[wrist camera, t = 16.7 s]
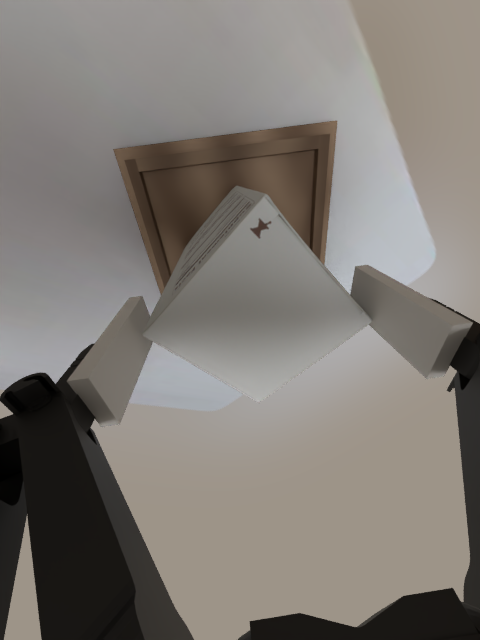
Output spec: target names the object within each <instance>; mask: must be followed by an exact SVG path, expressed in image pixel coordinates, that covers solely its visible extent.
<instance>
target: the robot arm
mask: <svg viewBox="0 0 480 640" xmlns="http://www.w3.org/2000/svg"><path fill="white" fill-rule="evenodd" d="M350 296H351V297H352V298H353V299H354V300H355V301H356V302H357V303H358V305H359V306H360V307H361V308H362V309H363V310H364V311H365V312H366V313H367V314H368V315H369V316H370V317H371V318H372V322H371V323H370V324H369V325H370V326H371V327H372V328H373V329H374V330H375V331H376V332H377V333H378V334H379V335H380V336H381V337H382V338H384V339H385V340H386V341H387V342H388V343H389V344H390V345H391V346H392V347H393V348H394V349H395V350H396V351H397V352H398V353H400V354H401V355H402V356H403V357H404V358H405V359H406V360H407V361H408V362H409V363H410V364H411V365H412V366H413V367H414V368H416V369H417V370H418V371H419V372H420V373H421V374H422V375H423V376H424V377H425V378H426V379H428V378H435V377H442V376H444V375H445V374H446V372H447V370H448V368H449V366H452V367H453V368H454V369H455V370H457V373H456V375H455V376H454V378H453V380H452V382H451V383H450V385H449V387H448V389H447V391H449V392H450V391H451V390H452V388H455V394H456V406H457V416H458V427H459V438H460V449H461V459H462V470H463V482H464V491H465V503H466V514H467V525H468V535H469V547H470V565H469V569H468V571H467V575H466V577H465V583H464V602H461V601H460V600H459V598H458V596H457V595H456V593H455V591H454V589H453V588H450V589H444V590H437V591H431V592H425V593H419V594H413V595H407V596H403V597H401V598H400V599H398V600H396V601H395V602H393V603H392V604H390V605H388V606H387V607H385V608H383V609H382V610H380V611H379V612H377V613H376V614H374V615H373V616H371V617H370V618H369V619H367V620H366V621H365V622H363V623H362V624H360V625H359V626H358V627H352V626H348V625H344V624H340V623H336V622H332V621H328V620H325V619H321V618H316V617H313V616H309V615H305V614H301V613H298V614H292V615H286V616H280V617H274V618H268V619H261V620H255V621H250V631H248V632H247V633H246V634H244V635H242V636H241V637H240V638H239V639H238V640H480V324H479V323H477V322H475V321H474V320H472V319H470V318H468V317H466V316H464V315H462V314H461V313H459V312H457V311H454V310H453V309H451V308H449V307H446V305H444V304H442V303H440V302H438V301H436V300H433V299H430V298H427V297H425V296H423V295H422V294H420V293H418V292H416V291H414V290H413V289H411V288H409V287H407V286H405V285H403V284H402V283H400V282H398V281H396V280H394V279H393V278H391V277H389V276H387V275H385V274H383V273H382V272H380V271H378V270H376V269H374V268H372V267H371V266H369V265H363V266H355V271H354V277H353V283H352V289H351V294H350ZM149 319H150V315H149V312H148V310H147V307H146V305H145V302H144V299H143V297H142V296H138V297H131V298H129V299H128V300H127V302H126V303H125V304H124V306H123V307H122V308H121V310H120V311H119V312H118V314H117V315H116V316H115V318H114V319H113V320H112V322H111V323H110V324H109V326H108V327H107V328H106V330H105V331H104V332H103V334H102V335H101V336H100V338H99V339H98V340H97V342H96V343H95V344H91V345H90V346H88V347H87V348H86V349H84V350H83V351H82V352H81V353H80V354H79V356H78V357H77V358H76V361H74V362H73V363H72V364H71V366H70V367H69V368H68V369H67V371H66V372H65V373H64V374H63V376H62V377H61V378H60V379H59V381H58V382H57V383H56V384H55V383H54V382H53V381H52V379H51V378H50V377H49V376H48V375H47V374H46V373H36V374H32V375H29V376H26V377H24V378H22V379H20V380H18V381H17V382H15V383H13V384H12V385H11V386H9V387H8V388H7V389H6V390H5V391H4V392H3V393H2V394H1V396H0V401H1V402H2V403H3V404H4V405H5V406H6V407H7V408H8V409H9V410H10V411H11V412H13V415H10V416H7V417H4V418H2V419H0V640H4V634H5V629H6V624H7V618H8V613H9V608H10V602H11V597H12V592H13V586H14V581H15V575H16V570H17V564H18V559H19V554H20V548H21V543H22V538H23V532H24V527H25V522H26V516H28V524H29V533H30V542H31V551H32V558H33V568H34V577H35V585H36V594H37V602H38V611H39V620H40V629H41V637H42V640H194V639H193V637H192V635H191V633H190V631H189V630H188V628H187V626H186V624H185V623H184V621H183V620H182V618H181V617H180V615H179V614H178V612H177V610H176V609H175V607H174V605H173V603H172V600H171V599H170V596H169V594H168V592H167V590H166V588H165V585H164V583H163V581H162V579H161V577H160V574H159V572H158V570H157V568H156V566H155V564H154V561H153V560H152V557H151V555H150V553H149V551H148V548H147V546H146V544H145V542H144V540H143V538H142V535H141V533H140V531H139V529H138V527H137V524H136V522H135V520H134V518H133V516H132V514H131V511H130V509H129V507H128V505H127V503H126V501H125V499H124V496H123V494H122V492H121V490H120V487H119V485H118V483H117V481H116V479H115V477H114V474H113V472H112V470H111V468H110V466H109V464H108V461H107V459H106V457H105V455H104V453H103V451H102V448H101V447H100V444H99V442H98V440H97V437H96V435H95V433H94V431H93V430H92V429H91V428H90V427H91V425H92V423H93V421H94V419H96V421H97V422H98V423H99V425H100V426H101V427H105V426H111V425H118V424H120V422H121V420H122V417H123V415H124V412H125V410H126V407H127V405H128V402H129V400H130V397H131V395H132V392H133V390H134V387H135V385H136V382H137V380H138V377H139V375H140V372H141V370H142V367H143V365H144V362H145V360H146V357H147V355H148V352H149V350H150V347H151V345H152V342H153V341H151V340H149V339H147V338H146V337H144V336H143V335H142V333H143V331H144V329H145V327H146V325H147V323H148V321H149ZM27 514H28V515H27Z"/></svg>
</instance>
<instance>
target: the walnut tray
mask: <svg viewBox="0 0 480 640" xmlns="http://www.w3.org/2000/svg"><path fill="white" fill-rule="evenodd" d="M336 130H337V121H330V122H322V123H315V124H307V125H299V126H291V127H284V128H276V129H268V130H260V131H252V132H245V133H237V134H229V135H221V136H213V137H206V138H198V139H190V140H182V141H174V142H167V143H159V144H151V145H143V146H135V147H128V148H120V149H113V150H114V153H115V156H116V159H117V162H118V165H119V168H120V171H121V174H122V177H123V180H124V183H125V186H126V189H127V193H128V196H129V199H130V202H131V205H132V208H133V211H134V214H135V217H136V220H137V223H138V226H139V229H140V232H141V235H142V238H143V241H144V244H145V247H146V250H147V254H148V257H149V260H150V263H151V266H152V269H153V272H154V275H155V278H156V281H157V284H158V287H159V290H160V293H161V295H162V293H163V291H164V289H165V287H166V285H167V283H168V281H169V279H170V277H171V275H172V273H173V271H174V269H175V267H176V265H177V263H178V261H179V259H180V257H181V255H182V253H183V250H184V249H185V247H186V245H187V244H188V243H189V241H190V240H191V239H192V237H193V236H194V235H195V233H196V232H197V231H198V230H199V228H200V227H201V226H202V225H203V223H204V222H205V221H206V220H207V219H208V217H209V216H210V215H211V214H212V212H213V211H214V210H215V209H216V208H217V206H218V205H219V204H220V203H221V202H222V200H223V199H224V198H225V197H226V196H227V195H228V194H229V192H230V191H231V190H232V189H233V188H234V187H235V186H240V187H243V188H247V189H251V190H254V191H258V192H261V193H265V194H267V195H268V196H269V197H270V198H271V200H272V201H273V203H274V204H275V205H276V207H277V208H278V209H279V211H280V212H281V213H282V215H283V216H284V217H285V219H286V220H287V221H288V222H289V224H290V225H291V226H292V227H293V229H294V230H295V231H296V232H297V233H298V235H299V236H300V237H301V238H302V240H303V241H304V242H305V243H306V245H307V246H308V247H309V248H310V249H311V250H312V252H313V253H314V254H315V255H316V256H317V257H318V259H319V260H320V261H321V262H322V263H323V264H324V262H325V251H326V240H327V229H328V218H329V207H330V196H331V185H332V174H333V163H334V152H335V141H336Z"/></svg>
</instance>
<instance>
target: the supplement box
mask: <svg viewBox="0 0 480 640" xmlns="http://www.w3.org/2000/svg"><path fill="white" fill-rule="evenodd" d="M371 322H372V318H371V317H370V316H369V315H368V314H367V313H366V312H365V311H364V310H363V309H362V308H361V307H360V306H359V305H358V303H357V302H356V301H355V300H354V299H353V298H352V297H351V296H350V294H349V293H348V292H347V291H346V290H345V289H344V288H343V286H342V285H341V284H340V283H339V282H338V281H337V280H336V278H335V277H334V276H333V275H332V274H331V273H330V271H329V270H328V269H327V268H326V267H325V266H324V264H323V263H322V262H321V261H320V260H319V259H318V257H317V256H316V255H315V254H314V253H313V252H312V250H311V249H310V248H309V247H308V246H307V245H306V243H305V242H304V241H303V240H302V238H301V237H300V236H299V235H298V233H297V232H296V231H295V230H294V229H293V227H292V226H291V225H290V224H289V222H288V221H287V220H286V219H285V217H284V216H283V215H282V213H281V212H280V211H279V209H278V208H277V207H276V205H275V204H274V203H273V201H272V200H271V198H270V197H269V196H268V195H267V194H265V193H261V192H258V191H254V190H251V189H247V188H243V187H240V186H235V187H234V188H233V189H232V190H231V191H230V192H229V194H228V195H227V196H226V197H225V198H224V199H223V200H222V202H221V203H220V204H219V205H218V206H217V208H216V209H215V210H214V211H213V212H212V214H211V215H210V216H209V217H208V219H207V220H206V221H205V222H204V223H203V225H202V226H201V227H200V228H199V230H198V231H197V232H196V233H195V235H194V236H193V237H192V239H191V240H190V241H189V243H188V244H187V245H186V247H185V249H184V250H183V253H182V255H181V257H180V259H179V261H178V263H177V265H176V267H175V269H174V271H173V273H172V275H171V277H170V279H169V281H168V283H167V285H166V287H165V289H164V291H163V293H162V295H161V297H160V299H159V301H158V303H157V305H156V307H155V309H154V311H153V313H152V315H151V317H150V319H149V321H148V323H147V325H146V327H145V329H144V331H143V333H142V335H143V336H144V337H146V338H147V339H149V340H151V341H153V342H154V343H156V344H158V345H160V346H162V347H163V348H165V349H167V350H168V351H170V352H172V353H174V354H175V355H177V356H179V357H181V358H182V359H184V360H186V361H187V362H189V363H191V364H193V365H194V366H196V367H198V368H199V369H201V370H203V371H205V372H206V373H208V374H210V375H211V376H213V377H215V378H216V379H218V380H220V381H222V382H224V383H225V384H227V385H229V386H230V387H232V388H234V389H236V390H237V391H239V392H241V393H242V394H244V395H246V396H247V397H249V398H251V399H252V400H254V401H256V402H258V403H259V402H261V401H262V400H264V399H265V398H267V397H268V396H270V395H271V394H273V393H274V392H276V391H277V390H278V389H280V388H281V387H283V386H284V385H285V384H287V383H288V382H289V381H291V380H292V379H293V378H295V377H296V376H298V375H299V374H300V373H302V372H303V371H304V370H306V369H307V368H309V367H310V366H312V365H313V364H314V363H316V362H317V361H319V360H320V359H322V358H323V357H324V356H326V355H327V354H329V353H330V352H331V351H333V350H334V349H336V348H337V347H338V346H340V345H341V344H343V343H344V342H345V341H347V340H348V339H350V338H351V337H352V336H353V335H355V334H356V333H358V332H359V331H360V330H362V329H363V328H364V327H366V326H367V325H369V324H370V323H371Z"/></svg>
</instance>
